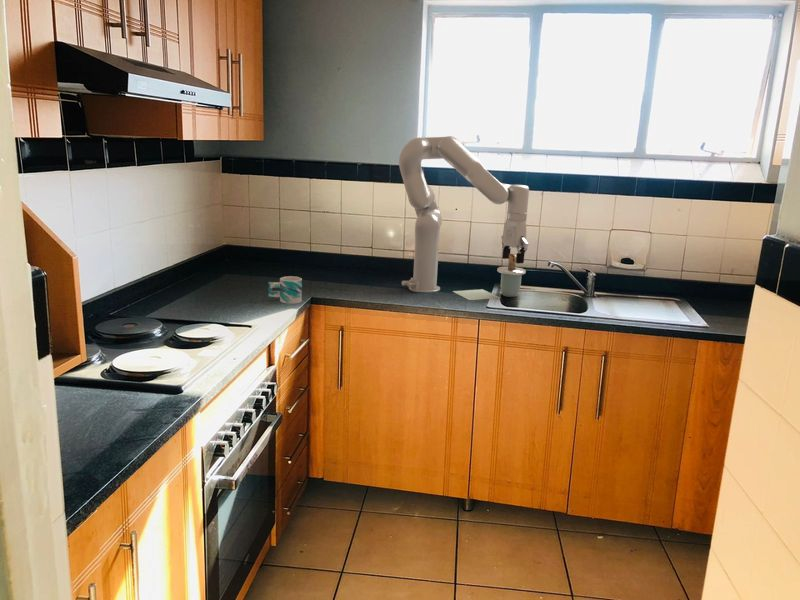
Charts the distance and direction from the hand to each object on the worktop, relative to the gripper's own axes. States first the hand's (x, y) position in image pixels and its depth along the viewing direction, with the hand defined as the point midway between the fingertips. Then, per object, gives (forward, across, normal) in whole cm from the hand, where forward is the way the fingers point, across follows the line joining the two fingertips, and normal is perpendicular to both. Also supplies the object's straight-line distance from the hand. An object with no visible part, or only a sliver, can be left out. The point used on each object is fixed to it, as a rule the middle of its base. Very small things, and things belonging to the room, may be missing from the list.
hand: (512, 260), depth 259 cm
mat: (+14, -4, -13) cm, 20 cm away
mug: (+15, -15, -87) cm, 90 cm away
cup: (+15, 0, 0) cm, 15 cm away
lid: (+4, 0, 0) cm, 5 cm away
